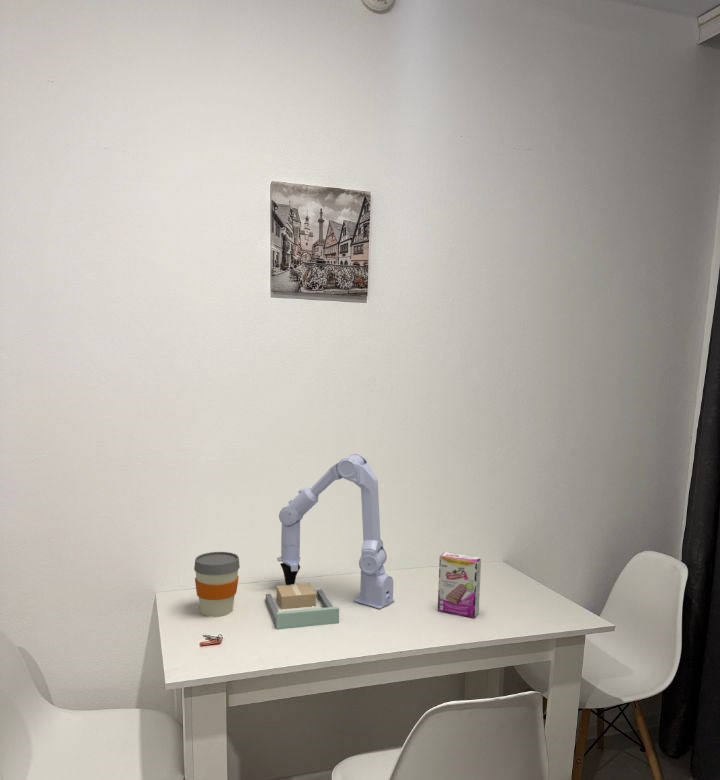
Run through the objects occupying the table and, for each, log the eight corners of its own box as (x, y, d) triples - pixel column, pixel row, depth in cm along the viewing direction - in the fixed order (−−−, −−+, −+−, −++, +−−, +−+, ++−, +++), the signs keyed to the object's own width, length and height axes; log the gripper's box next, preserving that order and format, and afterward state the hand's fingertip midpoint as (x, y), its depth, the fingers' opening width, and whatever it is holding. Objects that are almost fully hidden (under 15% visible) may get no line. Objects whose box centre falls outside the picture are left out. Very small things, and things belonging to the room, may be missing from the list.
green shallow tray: (265, 600, 189) (265, 587, 188) (321, 595, 194) (321, 582, 193) (276, 629, 169) (277, 614, 169) (338, 622, 174) (339, 608, 174)
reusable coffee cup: (200, 601, 187) (201, 550, 186) (243, 602, 187) (243, 552, 186) (187, 618, 174) (188, 564, 174) (233, 620, 174) (234, 566, 173)
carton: (276, 598, 191) (276, 585, 191) (309, 596, 194) (309, 583, 194) (281, 610, 182) (281, 596, 182) (315, 607, 185) (315, 593, 185)
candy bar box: (436, 611, 183) (438, 555, 183) (442, 605, 188) (443, 551, 187) (475, 619, 179) (477, 561, 178) (479, 613, 183) (481, 556, 182)
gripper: (273, 537, 203) (273, 579, 203) (281, 551, 189) (280, 596, 190) (295, 536, 205) (295, 578, 205) (305, 549, 191) (304, 594, 192)
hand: (289, 586), depth 198 cm, fingers closed
